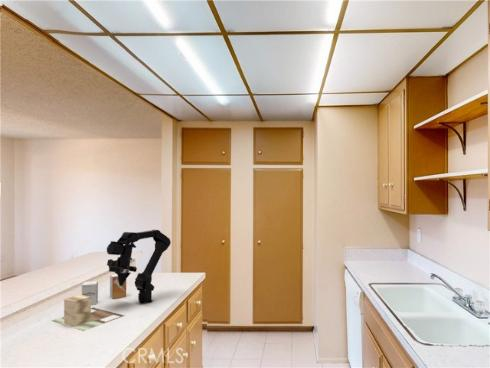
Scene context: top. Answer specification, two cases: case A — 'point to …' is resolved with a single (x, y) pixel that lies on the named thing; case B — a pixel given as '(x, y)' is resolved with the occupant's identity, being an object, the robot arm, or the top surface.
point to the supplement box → (91, 291)
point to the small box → (116, 287)
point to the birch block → (77, 310)
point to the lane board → (95, 319)
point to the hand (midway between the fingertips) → (120, 285)
